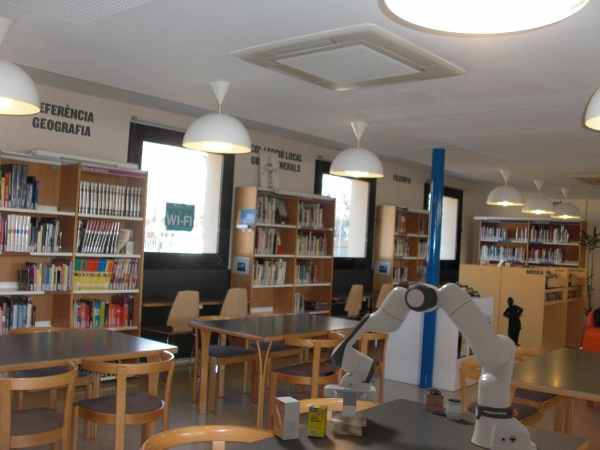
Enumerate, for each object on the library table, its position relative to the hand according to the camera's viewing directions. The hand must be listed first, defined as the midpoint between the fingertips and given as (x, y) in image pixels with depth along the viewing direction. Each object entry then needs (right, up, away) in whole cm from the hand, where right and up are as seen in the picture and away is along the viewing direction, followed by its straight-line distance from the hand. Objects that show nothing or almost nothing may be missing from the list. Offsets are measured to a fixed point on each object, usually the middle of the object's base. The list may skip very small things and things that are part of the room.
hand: (349, 397), depth 241 cm
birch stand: (-1, -13, 0) cm, 13 cm away
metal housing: (0, -8, 0) cm, 8 cm away
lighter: (+39, -16, +37) cm, 56 cm away
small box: (-24, -11, -11) cm, 29 cm away
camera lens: (+45, -16, +27) cm, 55 cm away
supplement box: (-13, -12, -9) cm, 20 cm away
